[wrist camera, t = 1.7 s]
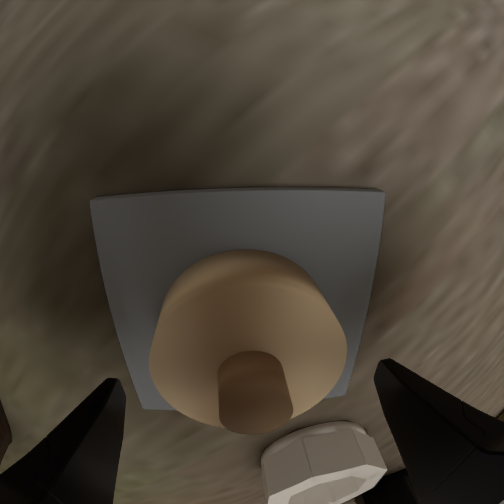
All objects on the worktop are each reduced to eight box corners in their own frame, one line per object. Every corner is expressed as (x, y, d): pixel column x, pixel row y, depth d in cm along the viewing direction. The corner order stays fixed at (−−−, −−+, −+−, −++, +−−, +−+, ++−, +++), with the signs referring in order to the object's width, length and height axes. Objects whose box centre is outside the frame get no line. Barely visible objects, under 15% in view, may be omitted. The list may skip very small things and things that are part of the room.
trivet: (378, 189, 11) (385, 192, 11) (341, 387, 15) (345, 395, 15) (95, 197, 10) (89, 200, 10) (144, 400, 14) (143, 408, 14)
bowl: (377, 409, 17) (399, 453, 13) (351, 462, 20) (364, 497, 16) (261, 430, 16) (270, 483, 13) (259, 478, 19) (265, 517, 16)
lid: (332, 245, 11) (391, 311, 7) (314, 374, 14) (341, 450, 10) (148, 253, 11) (111, 329, 6) (174, 384, 13) (166, 465, 9)
